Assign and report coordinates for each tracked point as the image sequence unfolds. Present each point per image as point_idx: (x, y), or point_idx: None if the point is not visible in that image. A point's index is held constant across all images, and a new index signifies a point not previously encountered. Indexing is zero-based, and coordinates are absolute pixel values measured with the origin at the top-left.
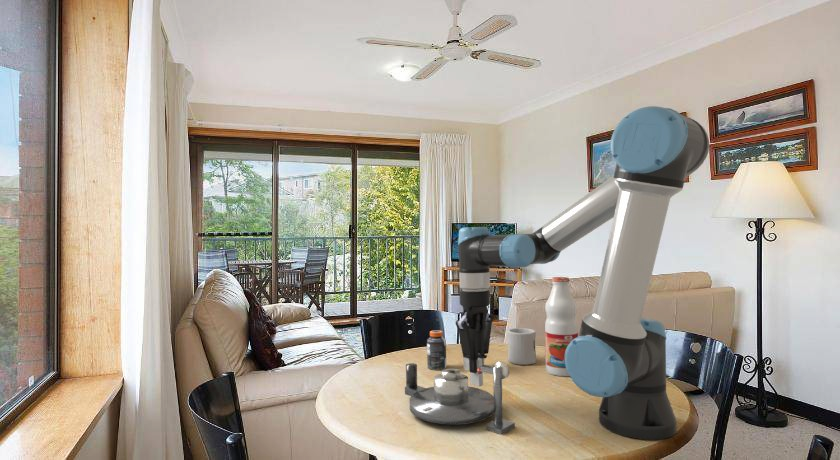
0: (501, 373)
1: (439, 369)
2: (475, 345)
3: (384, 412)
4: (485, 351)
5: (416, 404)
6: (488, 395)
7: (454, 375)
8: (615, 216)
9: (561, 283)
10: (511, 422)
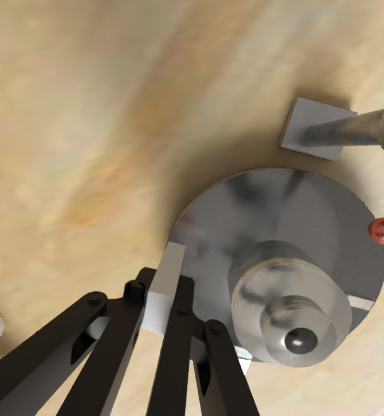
0: None
1: None
2: (184, 371)
3: (314, 367)
4: (104, 305)
5: None
6: (202, 208)
7: (326, 316)
8: None
9: None
10: (301, 105)
